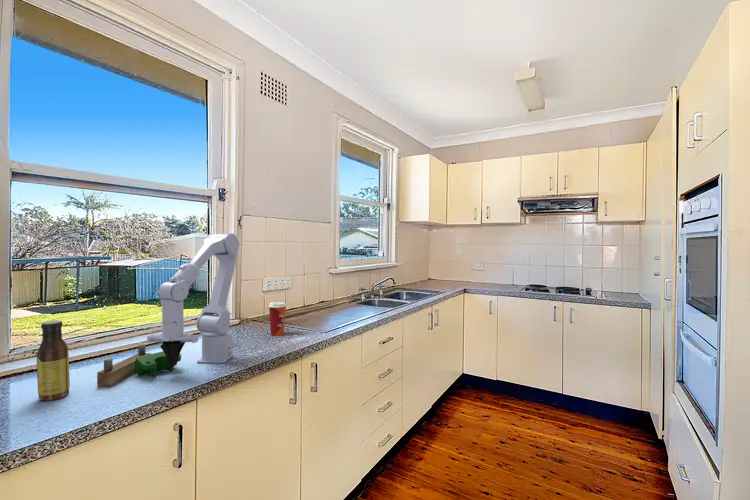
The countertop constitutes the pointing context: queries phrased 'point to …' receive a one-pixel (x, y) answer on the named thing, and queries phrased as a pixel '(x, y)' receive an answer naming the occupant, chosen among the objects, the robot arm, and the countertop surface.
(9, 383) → the countertop surface
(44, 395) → the sauce bottle
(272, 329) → the paper cup
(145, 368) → the clamp
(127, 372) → the bar
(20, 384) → the countertop surface
